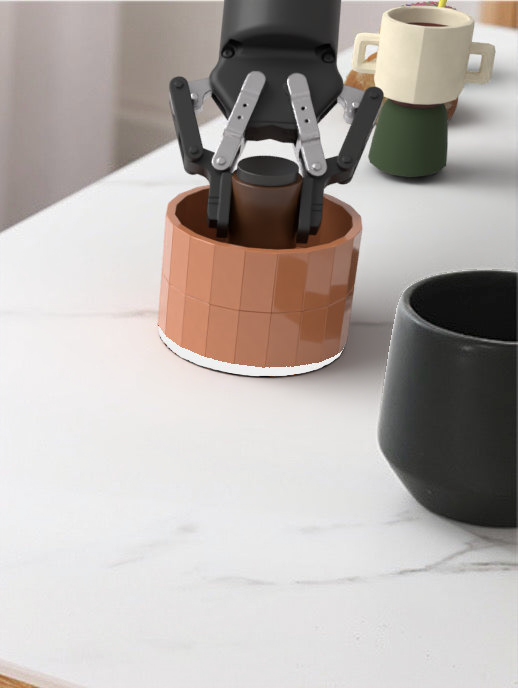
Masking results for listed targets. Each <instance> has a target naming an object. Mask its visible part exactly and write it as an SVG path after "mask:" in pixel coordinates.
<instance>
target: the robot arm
mask: <svg viewBox="0 0 518 688" xmlns="http://www.w3.org/2000/svg"><path fill="white" fill-rule="evenodd" d="M222 8H223V9H222V18H221V30H220V41H219V51H218V60H217V63H216V64H215V66H214V68H212V70H211V71H210V73H209V76H208V77H205V78H200V79H194V80H190V81H188V80H187V78H185V77H184V76H179V75H178V76H174V77H172V78H171V79H170V81H169V83H168V84H169V85H168V102H169V103H168V104H169V108H170V112H171V117H172V121H173V127H174V130H175V135H176V138H177V145H178V148H179V152H180V156H181V162H182V165H183V170H184V172H185V173H187V174H188V175H191V176H196V175H199V176H201V177H203V178H205V179H206V180H207V182H208V185H210V187H209V197H208V208H207V223H208V226H209V228H215V229H217V234H216V237H218V238H227V234H228V223H229V212H230V201H231V190H232V176H233V171H235V169H236V167H237V164H238V162H239V159H241V157H242V155H243V152H244V149H245V148H246V146H247V143H248V142H261V141H267V140H272V141H274V142H275V141H276V142H279V143H282V144H291V145H292V149H293V152H294V156H295V157H294V158H295V160H296V163H297V164H298V166H299V171H300V174H301V175H302V180H303V182H302V188H301V197H300V206H299V215H298V224H297V233H296V243H302V244H307V242H308V238H309V235H315V236H316V234H317V233H318V231H319V229H320V225H321V221H322V209H323V195H324V193H325V189H326V188H327V187H328V186H331V185H334V184H335V185H336V184H338V185H341V186H342V185H344V186H345V185H348V184H349V183H350V182H351V181H352V180H353V178H354V175H355V173H356V170H357V168H358V165H359V163H360V161H361V158H362V157H363V153H364V152H365V148H366V146H367V145H368V141H369V139H370V136H371V134H372V133H373V131H374V127H375V126H376V124H375V123H376V120H377V118H378V115H379V112H380V108H381V105H382V101H383V97H384V93H383V91H382V90H381V89H380V88H378V87H369V88H368V89H367V90H366V91H363V90H360V89H357V88H354V87H351V86H348V85H345V84H344V79H343V77H342V75H341V73H340V71H339V68H338V52H339V39H340V25H341V24H340V23H341V10H342V0H223V7H222ZM209 97H211V99H212V101H213V102H214V104H215V105H216V106H217V108H218V109H219V111H220V112H221V113H222V115H223V116H224V118H225V119H226V121H227V122H226V124H225V126H224V129H223V132H222V135H221V138H220V140H219V143H218V145H217V147H216V149H215V151H212V150H209V149H207V148H204V146H203V145H204V144H203V141H202V136H201V133H200V127H199V124H198V120H197V116H199V115H201V113H202V112H203V111H204V102H205V101H206V99H208V98H209ZM337 104H339V105H341V107H342V108H343V111H344V112H343V120H344V122H346V123H347V124H348V125H350V126H349V129H348V131H347V133H346V136H345V138H344V140H343V143H342V145H341V148H340V150H339V151H338V155H334V156H330V157H327V158H326V157H325V153H324V150H323V146H322V141H321V132H320V127H319V124H320V123H321V121H322V120H323V119H324V118H325V117H326V116H327V115H328V114H329V113H330V112H331V111H332V110H333V109H334V108H335V107H336V105H337Z"/></svg>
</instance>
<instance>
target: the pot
mask: <svg viewBox="0 0 518 688" xmlns="http://www.w3.org/2000/svg"><path fill="white" fill-rule="evenodd" d="M209 187H210V184H206V185H200V186H196V187H194V188H191V189H188V190H186V191H183V192H181V193H179V194H177V195H176V196H175V197H174V198H172V199H171V200H170V201H169V202H168V203H167V205H166V211H165V219H164V220H165V221H164V234H163V247H162V262H161V274H160V287H159V302H158V313H157V314H158V316H157V326H158V325H159V327H160V328H161V330H162V331H163V333H164V334H165V335H166V337H168V338H169V339H171V340H172V341H173V342H175V343H176V344H177V345H179V346H180V347H182V348H185V349H188V350H190V351H192V352H194V353H197V354H199V355H201V356H204V357H207V358H212V359H214V360H218V361H222V362H227V363H231V364H239V365H247V366H255V367H262V368H265V367H269V368H270V367H286V366H287V367H290V366H291V367H294V366H300V365H306V364H307V365H308V364H312V363H319V362H322V361H324V360H326V359H329V358H331V357H334V356H335V355H337V354H338V353H340V352H341V351H342V350H343V348H344V346H345V347H346V345H345V344H347V342H348V337H349V330H350V322H351V314H352V308H353V300H354V293H355V286H356V285H355V284H356V278H357V270H358V263H359V257H360V249H361V242H362V236H363V220H362V216H361V215H360V214H359V213H358V211H357V210H356V209H355V208H354V207H353V206H352V205H350V204H349V203H347V202H345V201H343V200H341V199H340V198H337V197H336V196H333V195H331V194H327V193H325V192H324V195H323V209H322V221H321V225H320V229H319V231H318V233H317V234H316V236H315V235H309V238H308V242H307V244H302V243H296V248H295V249H281V250H274V249H259V248H248V247H242V246H237V245H232V244H227V243H226V238H218V237H216V234H217V229H215V228H209V226H208V223H207V208H208V197H209Z"/></svg>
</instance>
